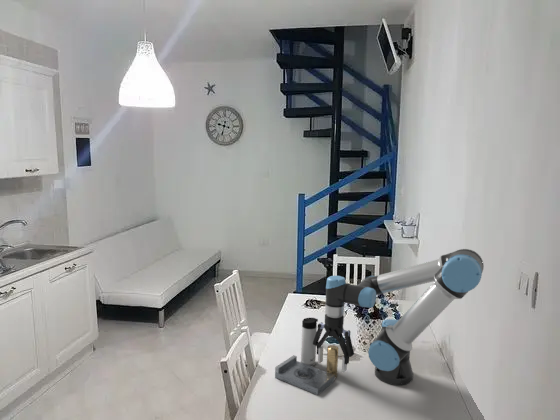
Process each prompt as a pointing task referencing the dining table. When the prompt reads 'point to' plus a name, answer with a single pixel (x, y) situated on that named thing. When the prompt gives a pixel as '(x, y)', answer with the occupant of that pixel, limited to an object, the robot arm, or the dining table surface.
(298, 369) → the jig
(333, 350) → the gold metal cylinder
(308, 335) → the travel mug
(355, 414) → the dining table surface
